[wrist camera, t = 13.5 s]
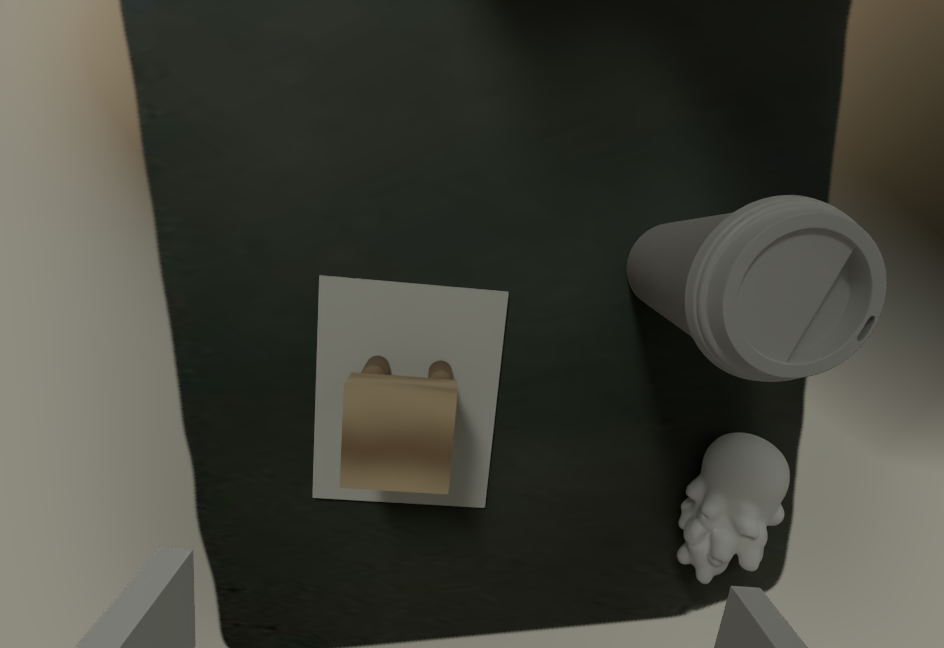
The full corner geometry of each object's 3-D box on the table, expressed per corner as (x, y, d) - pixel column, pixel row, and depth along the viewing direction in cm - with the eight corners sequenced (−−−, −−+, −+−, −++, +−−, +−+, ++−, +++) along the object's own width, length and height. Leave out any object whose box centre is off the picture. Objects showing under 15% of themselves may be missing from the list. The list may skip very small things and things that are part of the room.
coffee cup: (658, 352, 40) (781, 432, 25) (580, 263, 38) (664, 294, 23) (754, 269, 39) (941, 302, 24) (679, 174, 37) (832, 146, 22)
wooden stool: (364, 351, 38) (343, 384, 31) (455, 359, 39) (457, 393, 31) (359, 437, 40) (339, 487, 32) (448, 443, 40) (448, 494, 33)
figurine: (812, 449, 39) (763, 586, 41) (724, 415, 44) (682, 540, 45) (797, 461, 34) (741, 618, 36) (698, 422, 38) (652, 563, 40)
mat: (320, 275, 37) (319, 276, 37) (508, 291, 38) (508, 292, 38) (313, 495, 41) (312, 497, 40) (484, 505, 42) (484, 507, 41)
